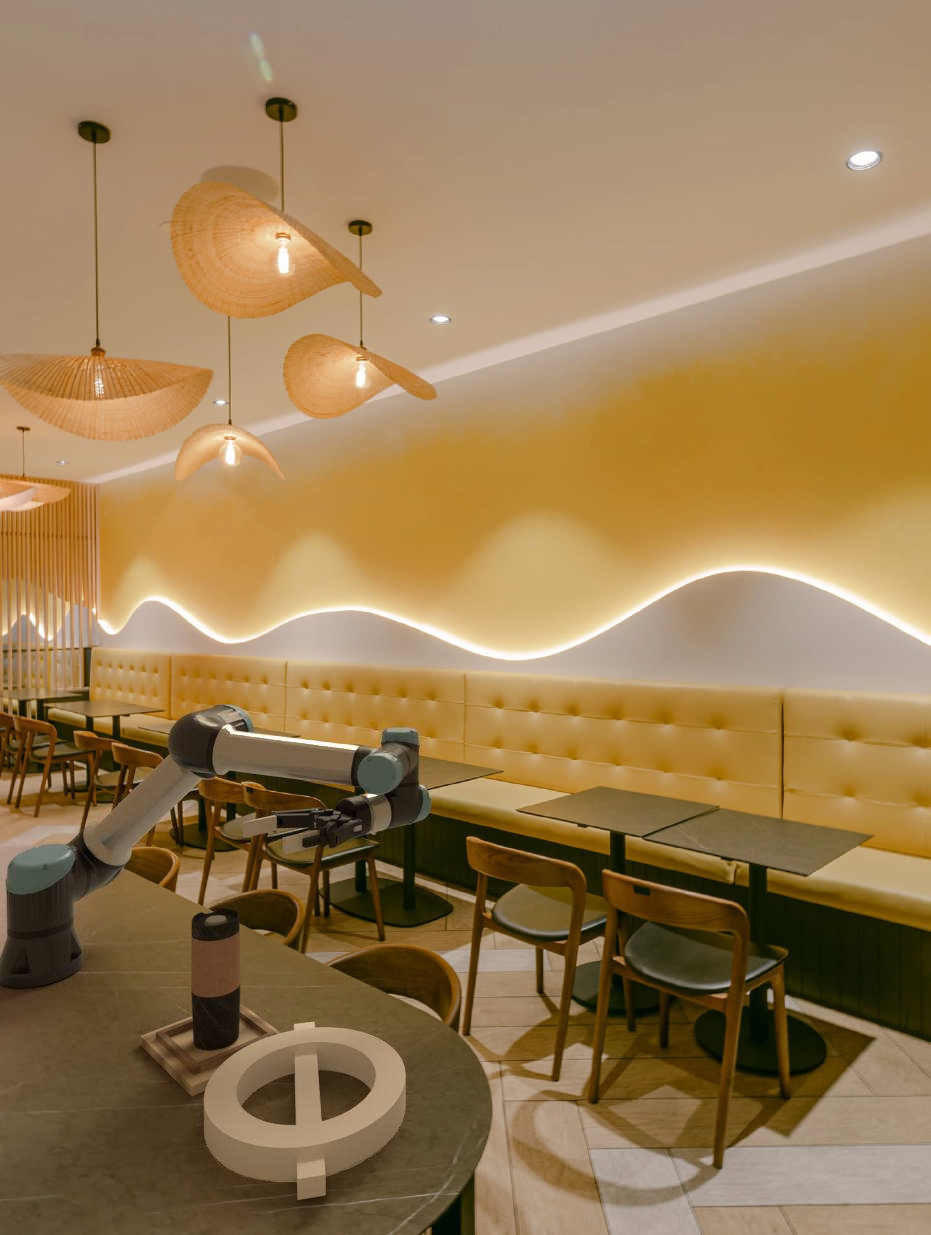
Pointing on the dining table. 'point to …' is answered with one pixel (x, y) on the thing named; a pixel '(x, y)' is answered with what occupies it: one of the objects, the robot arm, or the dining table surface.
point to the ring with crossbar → (304, 1106)
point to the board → (193, 1063)
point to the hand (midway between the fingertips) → (262, 837)
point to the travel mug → (215, 978)
